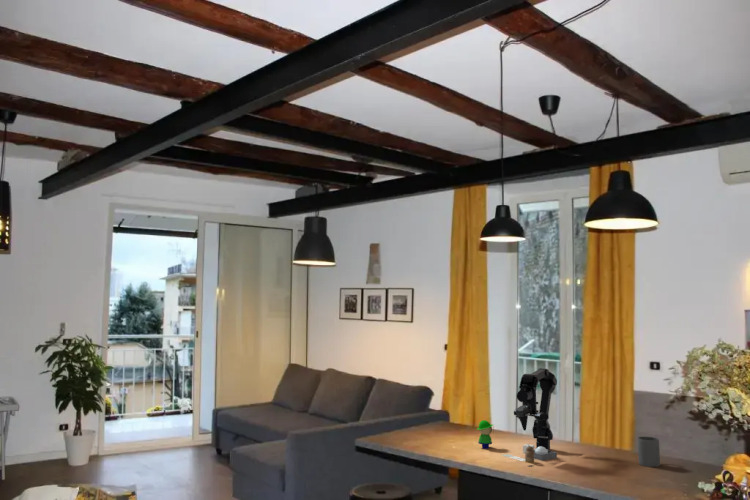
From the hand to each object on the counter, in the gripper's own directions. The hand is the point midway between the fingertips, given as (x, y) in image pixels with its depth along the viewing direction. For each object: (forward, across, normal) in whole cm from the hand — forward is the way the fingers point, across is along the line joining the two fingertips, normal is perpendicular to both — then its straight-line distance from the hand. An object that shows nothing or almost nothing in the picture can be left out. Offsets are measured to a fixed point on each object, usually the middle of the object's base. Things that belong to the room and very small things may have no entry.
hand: (531, 431), depth 309 cm
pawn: (+10, +12, -13) cm, 20 cm away
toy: (+12, -23, -10) cm, 28 cm away
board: (+12, +4, -6) cm, 14 cm away
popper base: (+11, +8, -2) cm, 13 cm away
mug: (+12, +40, +37) cm, 56 cm away
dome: (+11, +8, -2) cm, 13 cm away
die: (+11, -2, 0) cm, 11 cm away
